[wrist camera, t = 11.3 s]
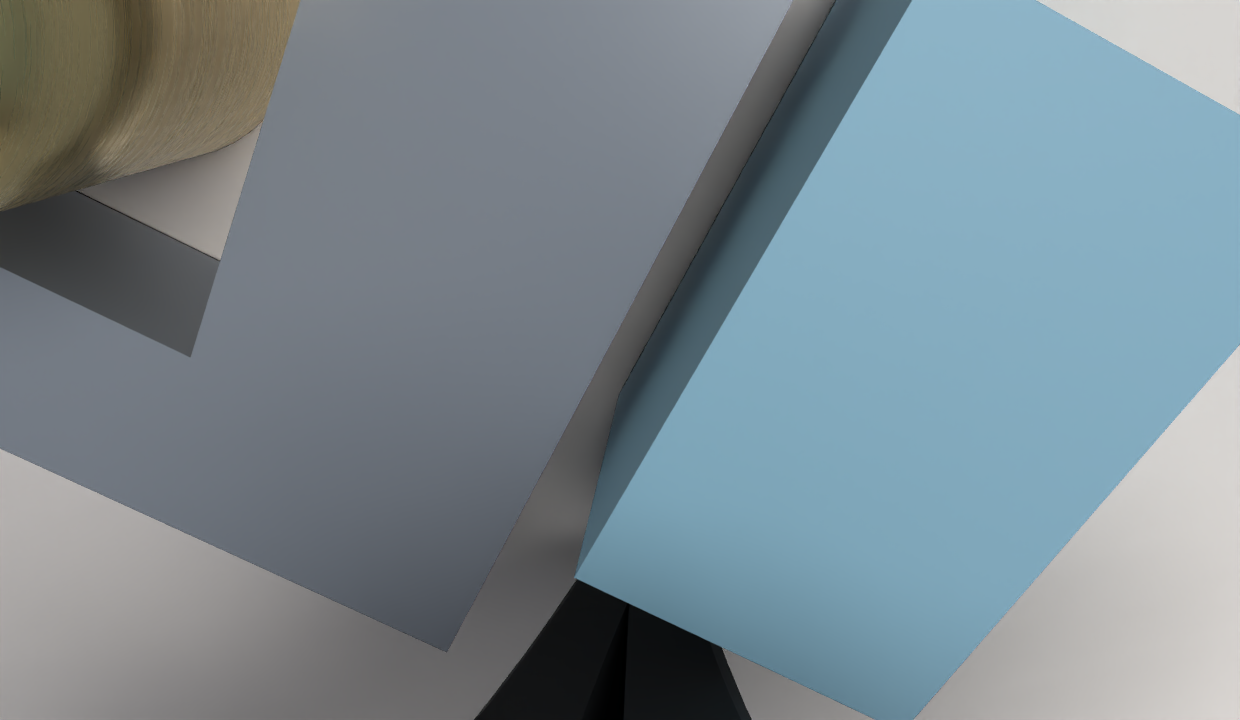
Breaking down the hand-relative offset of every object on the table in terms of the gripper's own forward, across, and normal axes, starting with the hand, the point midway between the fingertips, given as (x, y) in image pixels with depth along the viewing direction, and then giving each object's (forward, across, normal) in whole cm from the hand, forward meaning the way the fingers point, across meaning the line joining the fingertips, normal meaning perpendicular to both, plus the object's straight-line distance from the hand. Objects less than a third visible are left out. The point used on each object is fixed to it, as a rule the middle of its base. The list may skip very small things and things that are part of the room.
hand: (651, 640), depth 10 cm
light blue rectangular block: (+1, -2, -4) cm, 5 cm away
